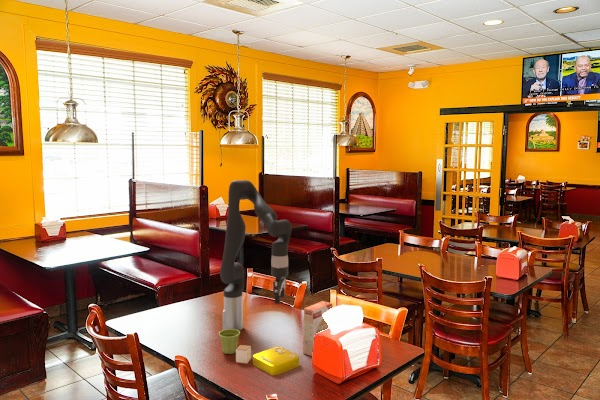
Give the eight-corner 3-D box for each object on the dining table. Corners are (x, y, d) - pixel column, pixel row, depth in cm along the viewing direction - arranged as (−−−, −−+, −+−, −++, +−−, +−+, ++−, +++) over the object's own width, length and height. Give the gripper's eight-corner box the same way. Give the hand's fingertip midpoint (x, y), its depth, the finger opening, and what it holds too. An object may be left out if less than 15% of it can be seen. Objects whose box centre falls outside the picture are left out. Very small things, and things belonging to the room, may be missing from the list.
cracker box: (313, 357, 210) (313, 310, 208) (302, 353, 214) (302, 307, 212) (332, 347, 221) (332, 302, 219) (321, 343, 225) (322, 300, 223)
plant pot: (215, 350, 217) (214, 332, 216) (233, 345, 223) (233, 327, 222) (225, 357, 210) (225, 338, 209) (244, 352, 216) (244, 333, 215)
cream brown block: (236, 362, 206) (235, 349, 205) (240, 357, 211) (239, 344, 210) (247, 363, 205) (247, 350, 204) (251, 358, 209) (250, 345, 209)
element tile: (251, 364, 204) (251, 353, 204) (278, 354, 214) (278, 344, 214) (273, 377, 193) (273, 366, 193) (301, 366, 203) (301, 355, 203)
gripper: (275, 260, 222) (275, 295, 224) (267, 268, 208) (267, 305, 210) (291, 261, 221) (291, 296, 223) (284, 269, 207) (284, 306, 209)
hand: (279, 300), depth 216 cm, fingers open, 8 cm apart
